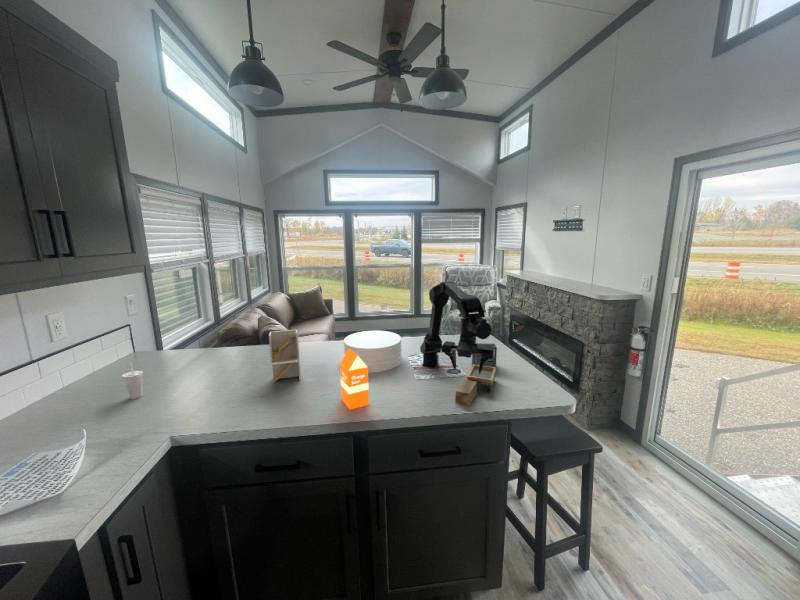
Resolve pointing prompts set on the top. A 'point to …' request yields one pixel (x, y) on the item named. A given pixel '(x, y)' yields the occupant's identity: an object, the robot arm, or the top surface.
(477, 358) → the small box
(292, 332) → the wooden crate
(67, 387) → the top surface
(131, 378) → the smoothie
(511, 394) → the top surface
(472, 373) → the wooden frame tray
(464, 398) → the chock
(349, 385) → the orange juice
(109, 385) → the top surface
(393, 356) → the plate stack
